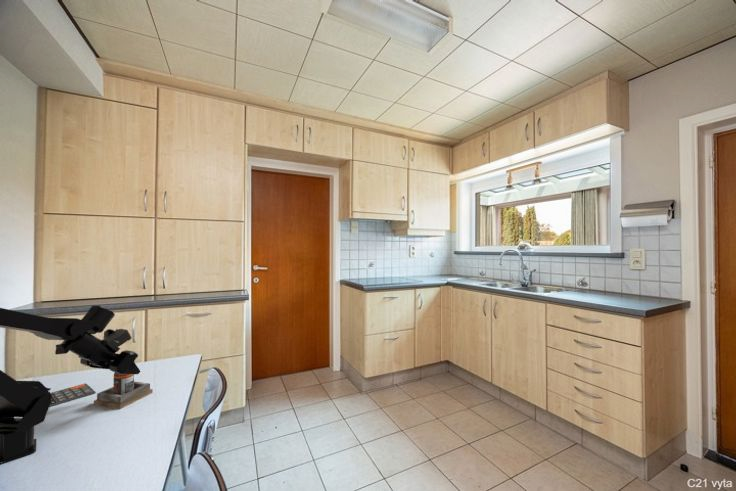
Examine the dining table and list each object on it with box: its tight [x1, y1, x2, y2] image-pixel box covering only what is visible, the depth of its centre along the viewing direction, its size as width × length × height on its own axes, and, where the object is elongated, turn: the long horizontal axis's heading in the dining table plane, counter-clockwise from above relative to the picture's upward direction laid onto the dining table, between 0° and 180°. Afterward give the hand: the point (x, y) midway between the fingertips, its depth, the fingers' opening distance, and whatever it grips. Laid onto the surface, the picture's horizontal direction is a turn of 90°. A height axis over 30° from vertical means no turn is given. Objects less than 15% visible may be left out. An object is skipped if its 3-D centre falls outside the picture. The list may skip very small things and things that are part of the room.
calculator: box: [49, 382, 96, 408], centre depth 96 cm, size 12×1×15 cm
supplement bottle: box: [112, 372, 135, 395], centre depth 95 cm, size 5×5×10 cm
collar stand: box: [93, 381, 154, 410], centre depth 95 cm, size 10×10×3 cm
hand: (129, 370), depth 97 cm, fingers open, 9 cm apart
